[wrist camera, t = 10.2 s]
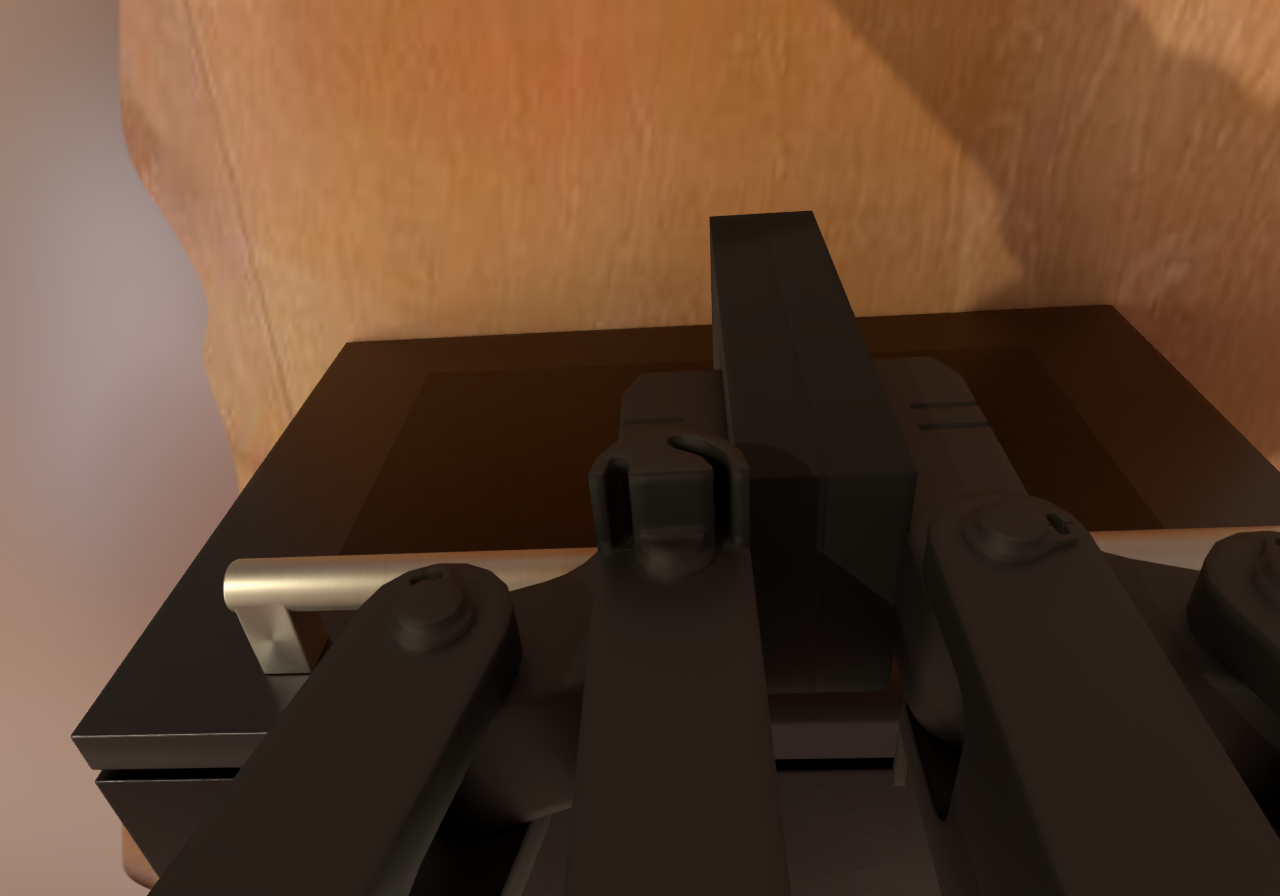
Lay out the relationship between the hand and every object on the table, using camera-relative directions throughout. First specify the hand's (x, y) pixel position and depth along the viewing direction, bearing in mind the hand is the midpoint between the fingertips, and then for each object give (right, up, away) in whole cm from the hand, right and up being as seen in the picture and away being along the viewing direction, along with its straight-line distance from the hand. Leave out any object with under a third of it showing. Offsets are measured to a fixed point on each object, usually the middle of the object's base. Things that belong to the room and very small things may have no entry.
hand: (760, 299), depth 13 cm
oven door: (+2, +5, +32) cm, 32 cm away
